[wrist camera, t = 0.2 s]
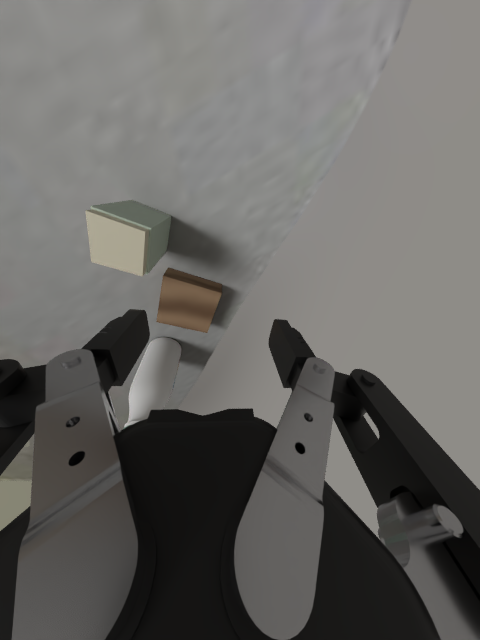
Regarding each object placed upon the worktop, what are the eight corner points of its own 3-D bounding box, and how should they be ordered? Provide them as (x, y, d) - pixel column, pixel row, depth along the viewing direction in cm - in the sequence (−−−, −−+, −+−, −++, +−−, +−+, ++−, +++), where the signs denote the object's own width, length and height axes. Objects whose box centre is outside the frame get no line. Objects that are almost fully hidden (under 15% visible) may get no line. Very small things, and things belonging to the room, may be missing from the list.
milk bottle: (143, 339, 40) (94, 437, 24) (174, 333, 40) (146, 427, 24) (158, 359, 45) (125, 452, 29) (186, 354, 45) (169, 444, 29)
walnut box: (168, 266, 31) (163, 275, 28) (221, 283, 34) (221, 293, 31) (161, 310, 36) (156, 321, 33) (208, 321, 39) (207, 332, 36)
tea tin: (131, 199, 24) (82, 207, 15) (171, 215, 26) (147, 230, 17) (131, 238, 27) (89, 263, 18) (166, 250, 29) (144, 278, 20)
